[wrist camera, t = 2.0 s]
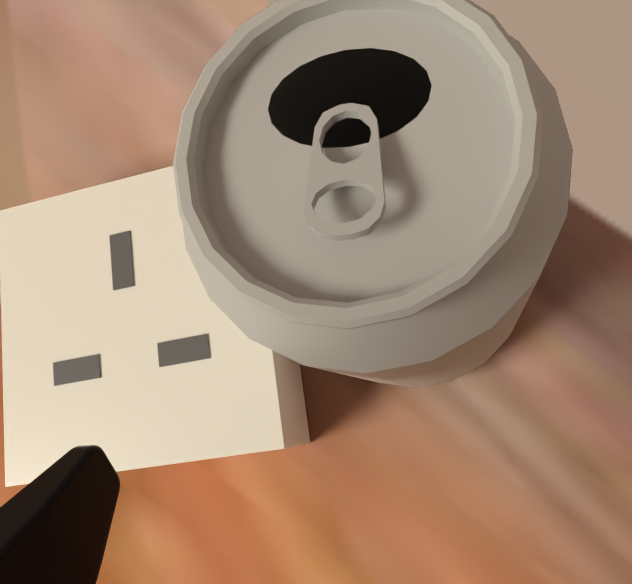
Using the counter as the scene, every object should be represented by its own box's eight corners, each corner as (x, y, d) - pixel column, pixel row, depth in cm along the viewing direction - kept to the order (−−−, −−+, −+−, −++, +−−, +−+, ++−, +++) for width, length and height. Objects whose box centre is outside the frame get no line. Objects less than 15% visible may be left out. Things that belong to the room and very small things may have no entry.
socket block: (310, 442, 21) (283, 448, 18) (63, 476, 23) (4, 487, 20) (275, 178, 23) (246, 146, 20) (52, 232, 25) (-3, 210, 22)
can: (516, 168, 21) (565, -117, 9) (534, 385, 19) (619, 359, 8) (309, 190, 23) (141, -26, 11) (312, 391, 21) (123, 375, 10)
